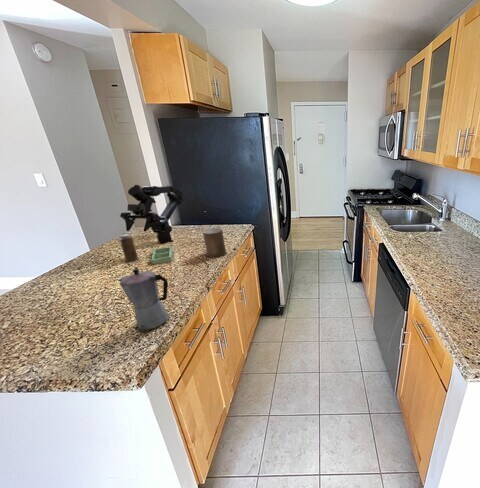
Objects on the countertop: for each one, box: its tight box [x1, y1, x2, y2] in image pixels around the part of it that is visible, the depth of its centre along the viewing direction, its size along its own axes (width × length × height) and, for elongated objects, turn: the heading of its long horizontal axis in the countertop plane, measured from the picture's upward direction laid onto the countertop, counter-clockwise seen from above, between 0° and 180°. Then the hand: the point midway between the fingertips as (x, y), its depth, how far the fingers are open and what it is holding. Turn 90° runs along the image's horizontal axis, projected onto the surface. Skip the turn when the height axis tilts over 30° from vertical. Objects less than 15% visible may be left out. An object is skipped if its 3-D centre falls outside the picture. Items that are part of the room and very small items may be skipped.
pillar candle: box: [202, 227, 227, 258], centre depth 139 cm, size 10×10×15 cm
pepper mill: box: [118, 233, 139, 263], centre depth 132 cm, size 5×5×14 cm
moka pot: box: [117, 268, 169, 331], centre depth 85 cm, size 10×15×20 cm, turn 95°
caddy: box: [150, 246, 173, 265], centre depth 137 cm, size 16×8×3 cm, turn 28°
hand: (135, 231), depth 136 cm, fingers open, 9 cm apart
